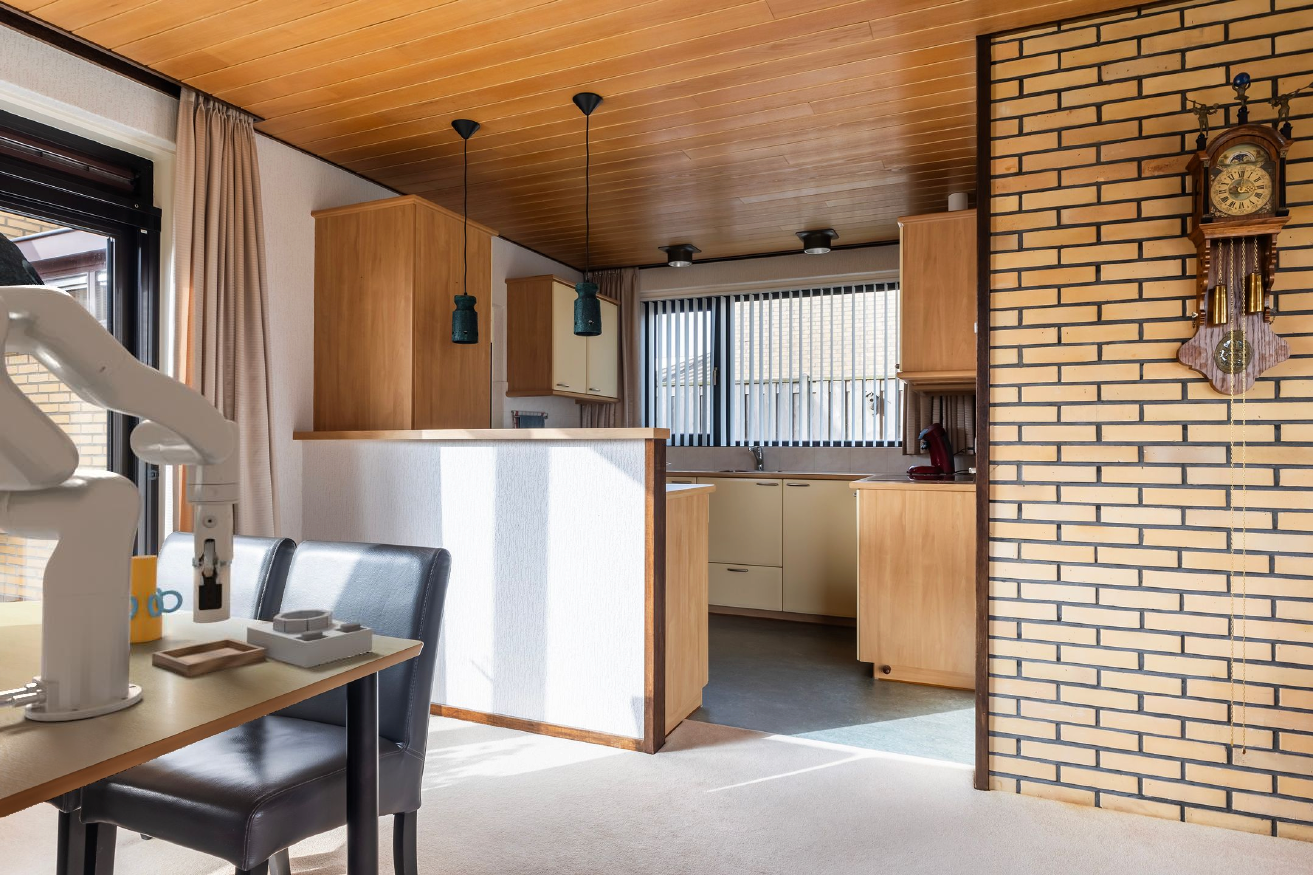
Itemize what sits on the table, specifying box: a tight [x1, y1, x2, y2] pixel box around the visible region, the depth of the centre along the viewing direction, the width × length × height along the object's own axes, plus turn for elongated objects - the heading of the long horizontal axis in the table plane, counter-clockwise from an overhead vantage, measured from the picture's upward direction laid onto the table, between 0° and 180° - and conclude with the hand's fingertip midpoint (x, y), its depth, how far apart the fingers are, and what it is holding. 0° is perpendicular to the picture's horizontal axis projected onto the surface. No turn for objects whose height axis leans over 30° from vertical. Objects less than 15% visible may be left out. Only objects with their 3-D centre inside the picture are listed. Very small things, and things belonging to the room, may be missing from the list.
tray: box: [151, 637, 267, 677], centre depth 123 cm, size 12×12×2 cm
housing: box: [246, 608, 373, 669], centre depth 129 cm, size 12×18×6 cm, turn 56°
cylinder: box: [130, 554, 184, 644], centre depth 137 cm, size 12×10×15 cm
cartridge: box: [191, 556, 233, 624], centre depth 123 cm, size 6×6×11 cm
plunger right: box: [340, 622, 362, 633], centre depth 129 cm, size 3×3×4 cm
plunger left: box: [301, 631, 323, 642], centre depth 123 cm, size 3×3×4 cm
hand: (212, 604), depth 123 cm, fingers closed on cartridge, 5 cm apart
